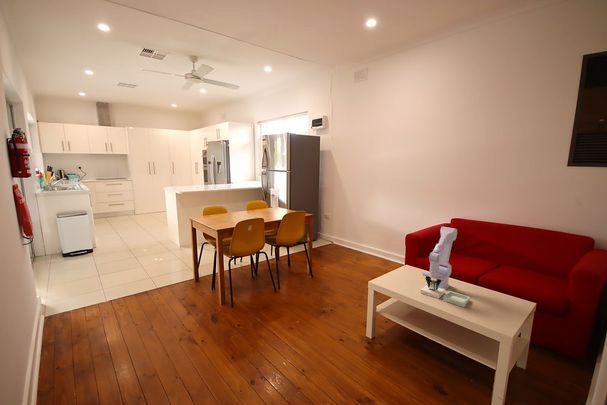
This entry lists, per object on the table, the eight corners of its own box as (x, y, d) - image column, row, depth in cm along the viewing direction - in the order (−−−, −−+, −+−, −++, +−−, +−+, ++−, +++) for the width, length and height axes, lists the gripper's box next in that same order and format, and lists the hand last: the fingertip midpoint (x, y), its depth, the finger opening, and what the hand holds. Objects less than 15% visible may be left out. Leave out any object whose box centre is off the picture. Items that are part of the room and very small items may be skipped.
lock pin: (430, 291, 194) (431, 279, 193) (436, 292, 191) (437, 281, 190) (428, 292, 191) (429, 281, 190) (434, 294, 188) (435, 283, 187)
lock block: (426, 287, 200) (427, 284, 199) (444, 292, 191) (444, 289, 191) (420, 292, 191) (420, 289, 191) (438, 298, 183) (438, 295, 182)
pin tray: (448, 294, 190) (449, 290, 189) (469, 300, 181) (469, 296, 181) (442, 300, 181) (443, 296, 180) (464, 307, 172) (464, 303, 172)
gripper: (421, 268, 191) (420, 286, 193) (443, 274, 181) (442, 293, 183) (425, 265, 196) (423, 283, 198) (447, 271, 186) (445, 290, 188)
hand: (432, 288), depth 191 cm, fingers open, 4 cm apart
